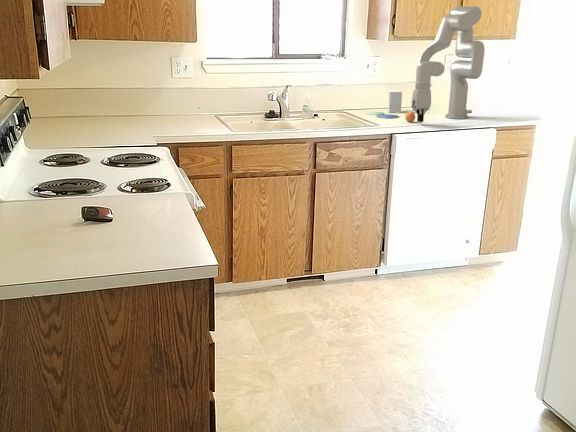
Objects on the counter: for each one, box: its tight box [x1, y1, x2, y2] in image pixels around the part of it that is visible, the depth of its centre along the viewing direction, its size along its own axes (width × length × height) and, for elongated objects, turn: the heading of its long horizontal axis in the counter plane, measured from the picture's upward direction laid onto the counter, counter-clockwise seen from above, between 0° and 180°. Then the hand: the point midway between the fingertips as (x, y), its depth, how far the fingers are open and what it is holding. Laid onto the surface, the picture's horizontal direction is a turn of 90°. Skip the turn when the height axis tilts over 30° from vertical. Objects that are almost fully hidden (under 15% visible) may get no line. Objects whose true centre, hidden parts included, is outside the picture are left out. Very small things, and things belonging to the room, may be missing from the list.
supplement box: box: [387, 89, 403, 114], centre depth 359 cm, size 7×7×13 cm
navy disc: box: [375, 113, 400, 119], centre depth 345 cm, size 13×13×1 cm
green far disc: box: [367, 111, 385, 116], centre depth 355 cm, size 10×10×1 cm
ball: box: [404, 111, 416, 123], centre depth 327 cm, size 6×6×6 cm
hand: (420, 121), depth 320 cm, fingers closed
